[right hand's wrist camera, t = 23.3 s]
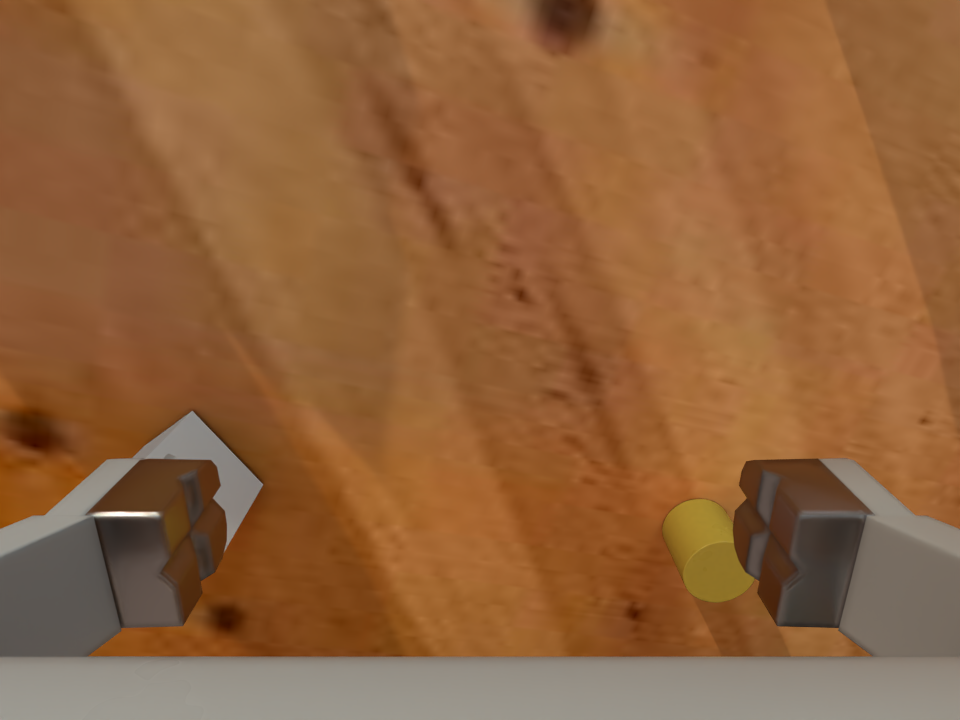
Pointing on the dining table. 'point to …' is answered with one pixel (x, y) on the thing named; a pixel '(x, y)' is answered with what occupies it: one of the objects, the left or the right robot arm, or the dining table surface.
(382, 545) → the dining table surface
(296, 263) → the dining table surface
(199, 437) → the white angled block
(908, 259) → the dining table surface
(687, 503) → the can
